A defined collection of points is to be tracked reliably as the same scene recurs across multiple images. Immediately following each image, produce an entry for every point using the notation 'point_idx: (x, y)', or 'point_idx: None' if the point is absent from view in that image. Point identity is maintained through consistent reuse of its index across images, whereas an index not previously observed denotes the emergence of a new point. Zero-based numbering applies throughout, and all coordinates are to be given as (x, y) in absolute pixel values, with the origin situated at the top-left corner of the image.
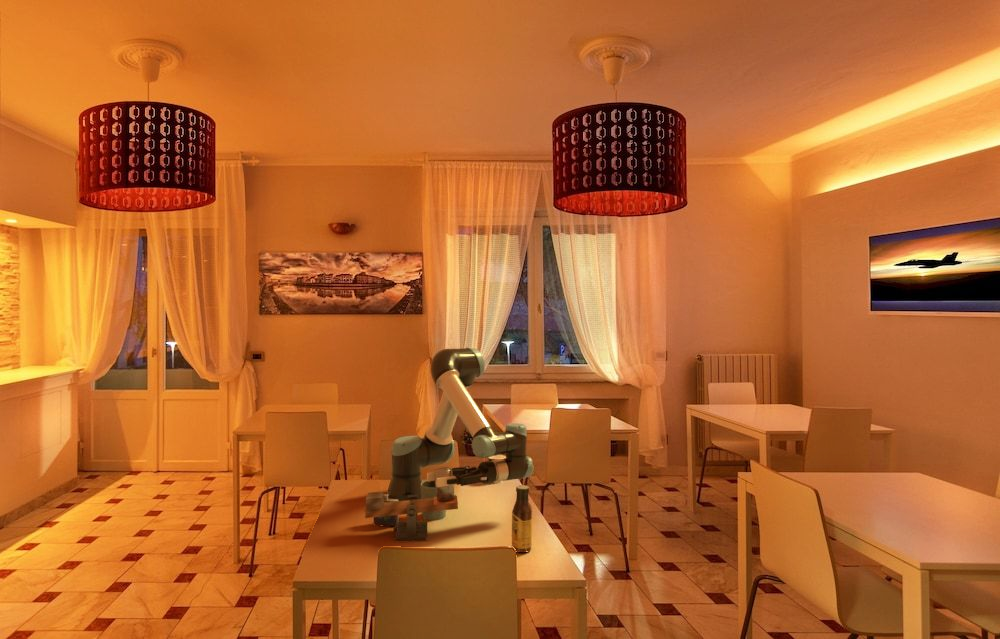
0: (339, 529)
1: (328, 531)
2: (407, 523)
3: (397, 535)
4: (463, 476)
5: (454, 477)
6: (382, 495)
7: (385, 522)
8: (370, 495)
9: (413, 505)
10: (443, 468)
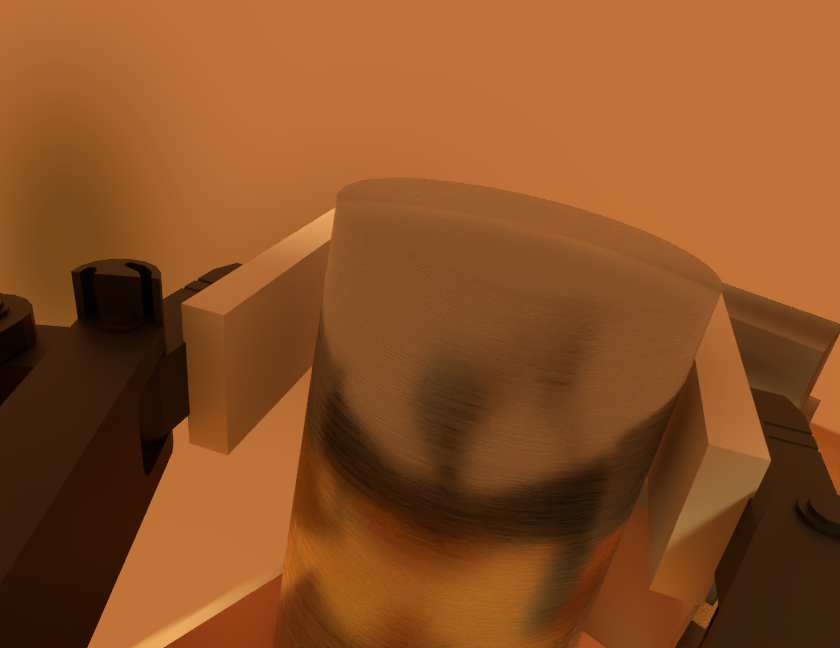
0: (833, 477)
1: (817, 443)
2: None
3: None
4: (12, 404)
5: (196, 313)
6: (735, 328)
7: None
8: (758, 301)
9: None
10: (583, 253)
